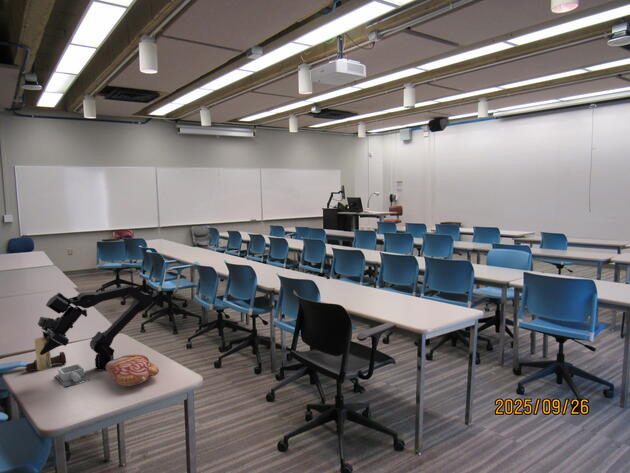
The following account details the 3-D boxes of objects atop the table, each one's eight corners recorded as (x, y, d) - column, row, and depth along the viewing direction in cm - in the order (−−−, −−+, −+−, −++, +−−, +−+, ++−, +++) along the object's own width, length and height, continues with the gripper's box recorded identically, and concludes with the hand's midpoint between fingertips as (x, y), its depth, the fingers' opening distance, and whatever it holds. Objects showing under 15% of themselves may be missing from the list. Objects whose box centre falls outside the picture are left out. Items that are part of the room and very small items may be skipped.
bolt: (26, 376, 185) (65, 365, 195) (27, 373, 181) (66, 362, 191) (23, 362, 186) (62, 352, 196) (24, 360, 183) (64, 350, 193)
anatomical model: (120, 378, 160) (99, 355, 183) (121, 397, 161) (100, 372, 183) (165, 365, 171) (140, 346, 194) (166, 383, 171) (141, 361, 194)
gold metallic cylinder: (54, 364, 174) (51, 336, 173) (47, 369, 169) (44, 340, 168) (42, 365, 174) (39, 336, 173) (34, 370, 169) (31, 341, 168)
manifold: (79, 369, 186) (78, 361, 185) (89, 380, 175) (89, 371, 175) (55, 376, 179) (55, 368, 179) (65, 387, 169) (64, 378, 169)
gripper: (45, 304, 179) (16, 336, 172) (56, 313, 165) (25, 348, 159) (67, 318, 185) (40, 350, 178) (80, 328, 171) (51, 363, 165)
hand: (39, 352), depth 170 cm, fingers closed on gold metallic cylinder, 5 cm apart
